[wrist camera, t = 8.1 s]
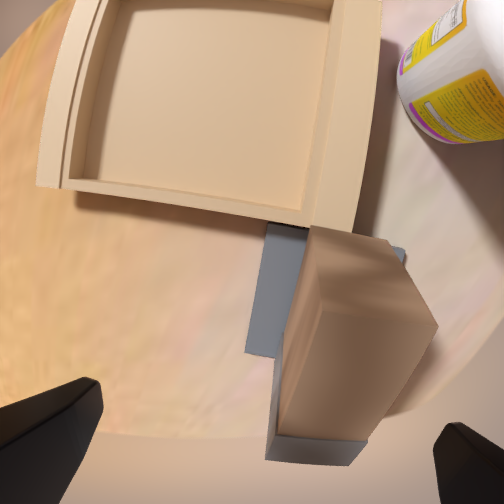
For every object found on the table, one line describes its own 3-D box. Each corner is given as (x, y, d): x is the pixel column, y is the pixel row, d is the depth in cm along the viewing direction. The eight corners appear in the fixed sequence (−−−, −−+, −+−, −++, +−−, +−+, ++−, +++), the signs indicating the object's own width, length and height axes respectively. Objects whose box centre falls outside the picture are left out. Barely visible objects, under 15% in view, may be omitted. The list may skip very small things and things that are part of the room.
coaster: (401, 248, 18) (405, 250, 17) (365, 365, 19) (367, 369, 19) (268, 221, 18) (267, 223, 17) (245, 347, 20) (244, 352, 19)
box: (389, 240, 15) (441, 328, 9) (339, 369, 19) (348, 466, 13) (308, 224, 15) (319, 312, 9) (274, 361, 19) (264, 459, 13)
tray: (372, 18, 14) (382, 1, 12) (341, 228, 18) (350, 236, 15) (96, 3, 15) (80, -10, 13) (57, 183, 18) (35, 185, 16)
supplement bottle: (489, 145, 15) (650, 144, 3) (404, 146, 16) (580, 123, 4) (468, 48, 14) (598, -20, 2) (381, 40, 15) (489, -88, 2)
